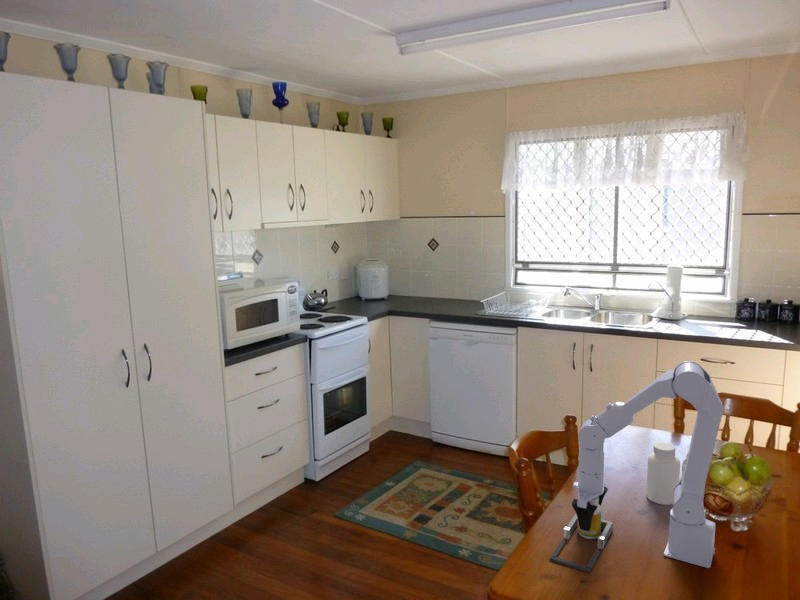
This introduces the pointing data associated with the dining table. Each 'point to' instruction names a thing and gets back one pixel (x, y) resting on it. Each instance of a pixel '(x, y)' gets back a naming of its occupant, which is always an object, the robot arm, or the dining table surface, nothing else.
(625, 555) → the dining table surface
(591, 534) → the supplement bottle
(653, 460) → the pill bottle
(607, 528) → the dispenser cradle
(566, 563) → the rubber frame
